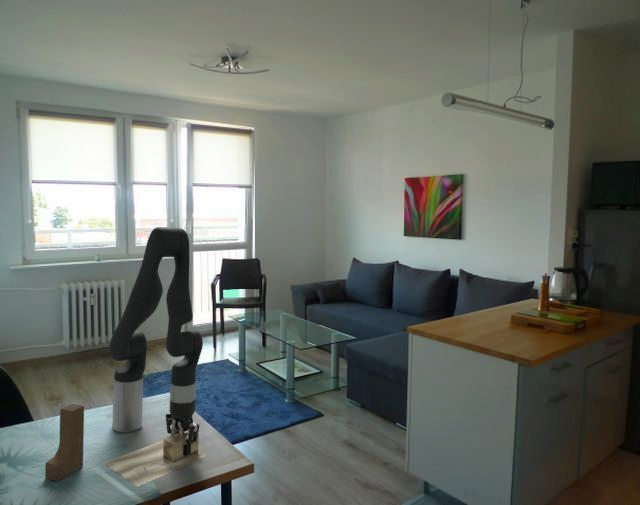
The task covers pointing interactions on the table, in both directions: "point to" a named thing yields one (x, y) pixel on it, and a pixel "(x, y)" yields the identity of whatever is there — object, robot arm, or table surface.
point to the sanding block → (177, 447)
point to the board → (148, 464)
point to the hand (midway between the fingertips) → (181, 451)
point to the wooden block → (68, 444)
